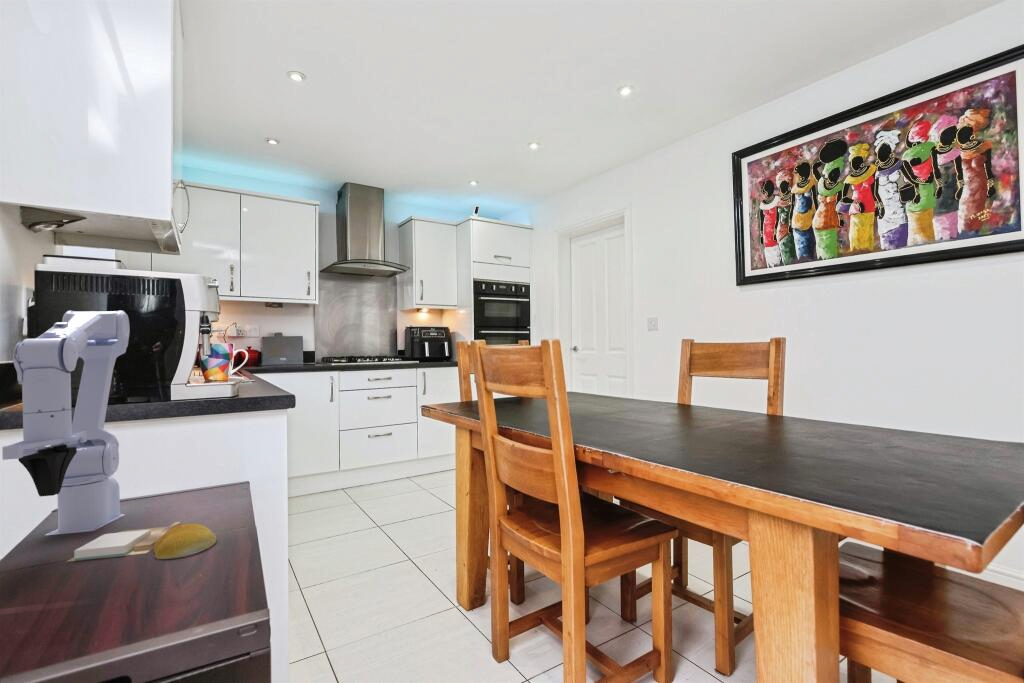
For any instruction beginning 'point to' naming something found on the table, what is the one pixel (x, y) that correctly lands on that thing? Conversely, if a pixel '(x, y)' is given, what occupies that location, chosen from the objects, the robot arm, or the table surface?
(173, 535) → the bread roll
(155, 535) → the spatula
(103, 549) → the tile
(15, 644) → the table surface
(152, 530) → the board
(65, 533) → the robot arm
